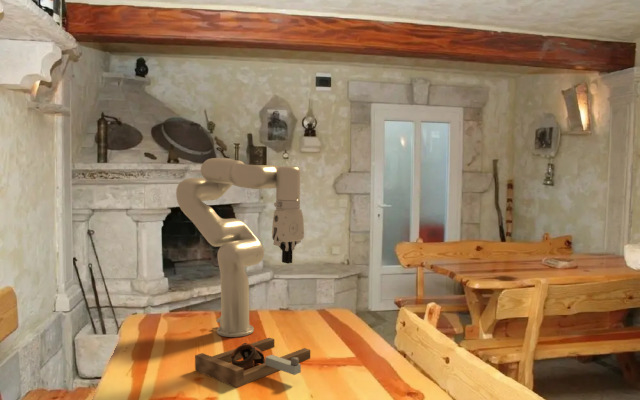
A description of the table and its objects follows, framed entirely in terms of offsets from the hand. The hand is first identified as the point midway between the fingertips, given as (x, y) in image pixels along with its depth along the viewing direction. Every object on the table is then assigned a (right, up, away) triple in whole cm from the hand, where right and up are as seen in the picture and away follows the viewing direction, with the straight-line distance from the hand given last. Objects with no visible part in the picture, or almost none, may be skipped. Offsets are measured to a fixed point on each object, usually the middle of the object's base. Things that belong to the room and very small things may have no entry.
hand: (287, 262), depth 169 cm
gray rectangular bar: (0, -25, -27) cm, 37 cm away
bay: (-8, -28, -15) cm, 32 cm away
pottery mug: (-10, -28, -19) cm, 35 cm away
